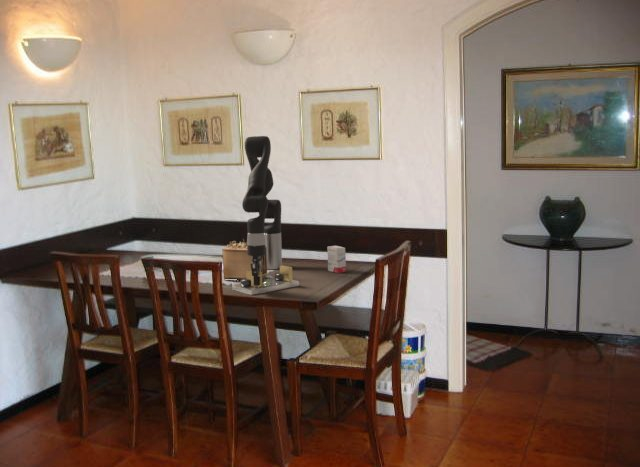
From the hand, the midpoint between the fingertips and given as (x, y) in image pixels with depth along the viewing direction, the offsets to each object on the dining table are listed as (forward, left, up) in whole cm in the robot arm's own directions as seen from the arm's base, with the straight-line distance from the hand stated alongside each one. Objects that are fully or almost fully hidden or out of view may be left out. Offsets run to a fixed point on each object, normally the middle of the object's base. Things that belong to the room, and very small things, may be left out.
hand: (257, 284), depth 305 cm
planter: (-25, +11, -3) cm, 27 cm away
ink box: (-8, +52, -3) cm, 53 cm away
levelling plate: (-3, +7, -3) cm, 8 cm away
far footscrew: (-2, +16, 0) cm, 16 cm away
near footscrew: (-2, -1, 0) cm, 3 cm away
